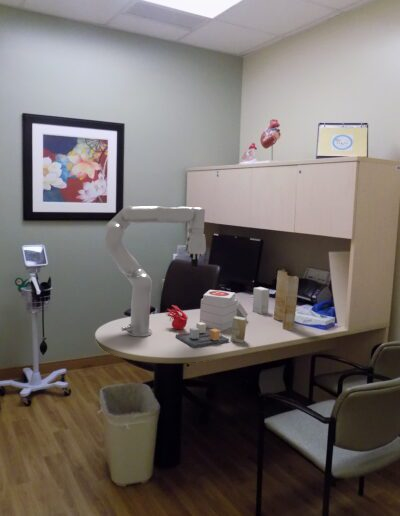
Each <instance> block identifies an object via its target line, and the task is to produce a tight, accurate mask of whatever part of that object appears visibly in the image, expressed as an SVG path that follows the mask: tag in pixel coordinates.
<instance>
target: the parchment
mask: <svg viewBox="0 0 400 516" xmlns="http://www.w3.org/2000/svg"><path fill="white" fill-rule="evenodd" d="M298 289H299V276H296V275H294V276H291V275H288V271H285V270H284V269H283V270H282V269H279V270H277V277H276V288H275V300H274V308H273V309H274V310H273V320H277V321H280V322H281V321H283V322H282V329H283V330H286V331H294V329H295V321H296V319H295V318H296V312H297V311H296V309H297V301H298Z"/></svg>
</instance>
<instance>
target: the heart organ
mask: <svg viewBox="0 0 400 516" xmlns="http://www.w3.org/2000/svg"><path fill="white" fill-rule="evenodd" d="M171 307H172V308H167V312H165V315H166V316H167V317H170V319H169V321H170V322H171V326H172V328H173V329H175V330H178V331H181V330H183V329H184V328H185V327H186V325H187V323H188V320H189V318H188V315H187V314H186V313H185V311H184V310H182V309H180V308H179V307H178V306H177V305H173V304H172V305H171Z"/></svg>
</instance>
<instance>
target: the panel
mask: <svg viewBox="0 0 400 516" xmlns="http://www.w3.org/2000/svg"><path fill="white" fill-rule="evenodd" d="M210 330H211V329H206V332H205V333H199V338H196V339H192V338H190V337H189V333H190V332H184V333H178V334H177V333H176V334H175V338H176V339H177V340H180V341H181V342H182V343H184V344H187V345H188V346H190V347H191V348H193V349H196V348H203V347H208V346H215V345H221V344H225V343H226V344H227V343H229V342H230V341H229V340H230V339H229V338H227V337H226V336H223V334H222V333H220V338H219V340H212V339H210Z"/></svg>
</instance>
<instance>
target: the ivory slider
mask: <svg viewBox="0 0 400 516" xmlns="http://www.w3.org/2000/svg"><path fill="white" fill-rule="evenodd" d="M195 327H196V328H198V329H200V330H199V333H205V332H206V330H207V329H206V328H207V327H206V324H205V323H203V322H200V321H199V322H196V326H195Z"/></svg>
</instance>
